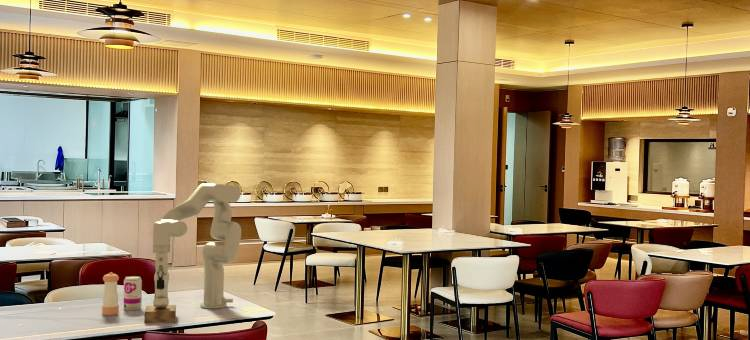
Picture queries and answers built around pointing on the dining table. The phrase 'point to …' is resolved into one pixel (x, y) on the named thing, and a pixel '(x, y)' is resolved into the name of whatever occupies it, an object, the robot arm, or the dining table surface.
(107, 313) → the pepper shaker
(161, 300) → the plastic bottle
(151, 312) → the walnut block
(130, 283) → the supplement can
